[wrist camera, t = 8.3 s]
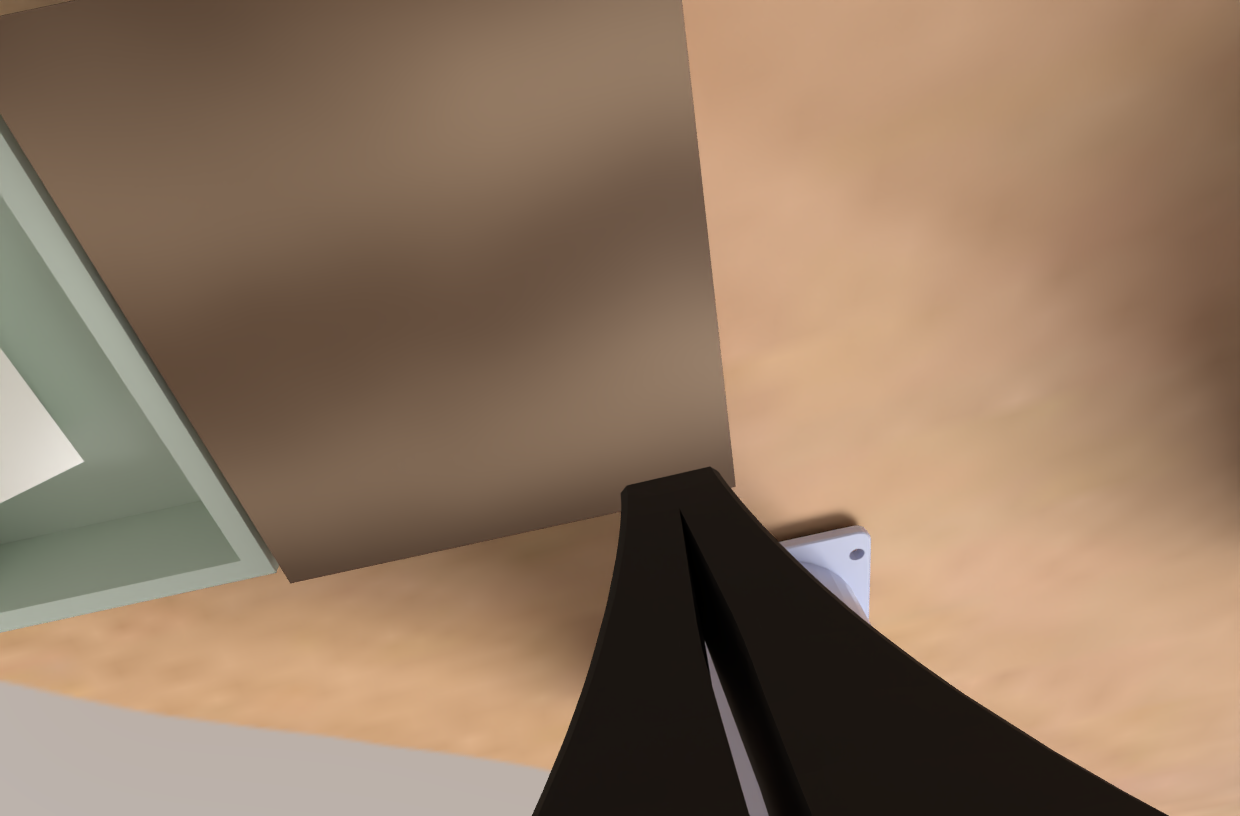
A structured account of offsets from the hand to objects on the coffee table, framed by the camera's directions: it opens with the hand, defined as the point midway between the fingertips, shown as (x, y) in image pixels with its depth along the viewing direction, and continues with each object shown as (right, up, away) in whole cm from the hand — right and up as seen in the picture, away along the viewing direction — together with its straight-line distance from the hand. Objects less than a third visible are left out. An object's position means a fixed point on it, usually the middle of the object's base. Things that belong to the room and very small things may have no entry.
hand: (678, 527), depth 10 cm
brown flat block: (-5, +6, +7) cm, 10 cm away
